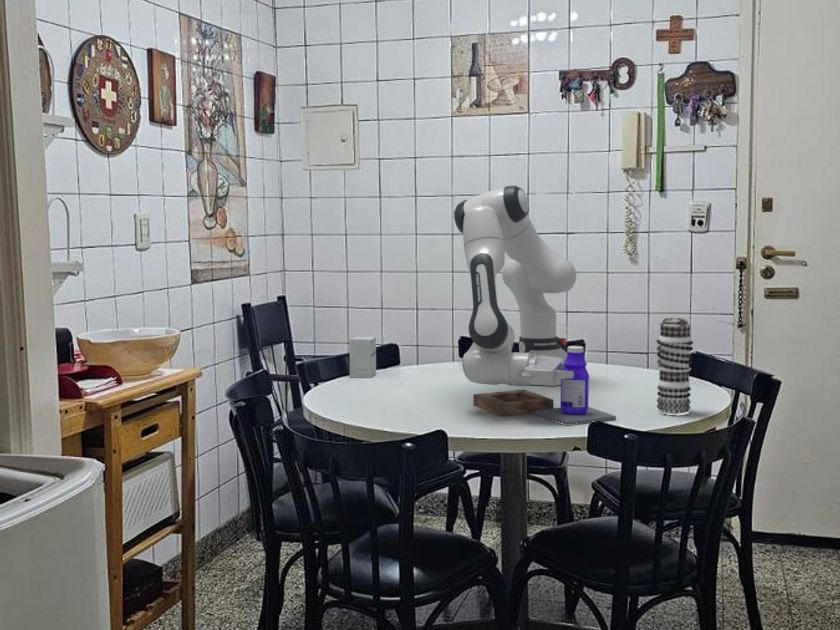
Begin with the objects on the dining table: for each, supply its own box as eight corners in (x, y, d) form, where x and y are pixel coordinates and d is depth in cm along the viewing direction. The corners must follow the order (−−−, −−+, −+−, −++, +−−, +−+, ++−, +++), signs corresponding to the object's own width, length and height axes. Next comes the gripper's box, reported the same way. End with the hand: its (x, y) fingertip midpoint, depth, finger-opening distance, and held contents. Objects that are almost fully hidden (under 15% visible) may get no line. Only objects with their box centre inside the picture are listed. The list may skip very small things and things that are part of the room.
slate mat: (583, 408, 255) (583, 405, 255) (615, 419, 241) (615, 416, 241) (535, 414, 249) (535, 410, 249) (565, 425, 236) (565, 421, 236)
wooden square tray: (524, 399, 268) (524, 389, 268) (553, 410, 253) (553, 399, 253) (473, 404, 262) (473, 394, 261) (500, 416, 247) (500, 405, 247)
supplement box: (371, 378, 305) (370, 339, 303) (349, 377, 306) (348, 339, 305) (376, 374, 312) (376, 336, 311) (355, 373, 313) (354, 336, 312)
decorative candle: (685, 418, 243) (688, 321, 240) (650, 414, 248) (652, 319, 245) (696, 411, 251) (698, 317, 248) (661, 407, 255) (663, 316, 253)
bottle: (590, 411, 247) (590, 345, 245) (586, 416, 242) (587, 348, 240) (562, 410, 249) (563, 344, 247) (558, 414, 244) (559, 347, 242)
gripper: (515, 363, 238) (571, 365, 234) (530, 351, 257) (581, 353, 253) (515, 388, 238) (570, 391, 234) (530, 374, 258) (581, 376, 254)
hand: (576, 371), depth 244 cm, fingers open, 8 cm apart
